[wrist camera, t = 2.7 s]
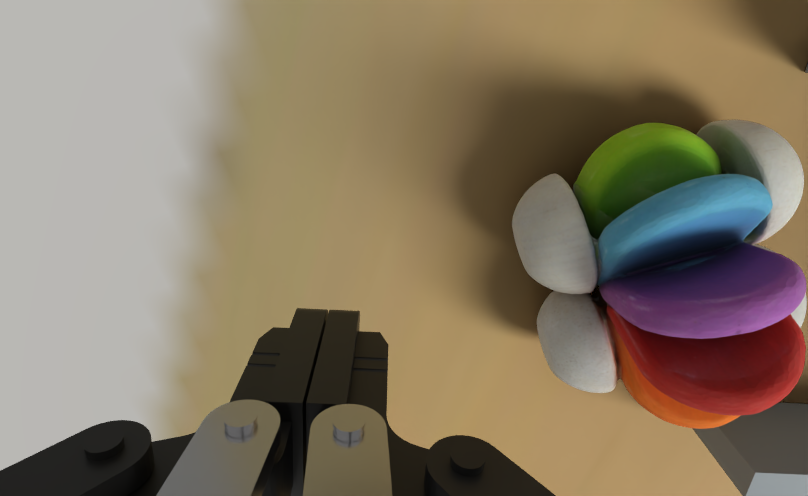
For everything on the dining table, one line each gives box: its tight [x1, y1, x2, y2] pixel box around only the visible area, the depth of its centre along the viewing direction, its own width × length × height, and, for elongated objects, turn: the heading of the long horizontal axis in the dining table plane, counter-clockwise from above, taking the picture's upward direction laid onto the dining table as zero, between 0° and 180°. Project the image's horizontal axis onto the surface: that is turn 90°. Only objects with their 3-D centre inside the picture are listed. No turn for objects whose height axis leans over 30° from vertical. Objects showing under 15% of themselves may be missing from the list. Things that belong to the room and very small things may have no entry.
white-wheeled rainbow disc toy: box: [512, 120, 807, 429], centre depth 16 cm, size 8×10×7 cm
